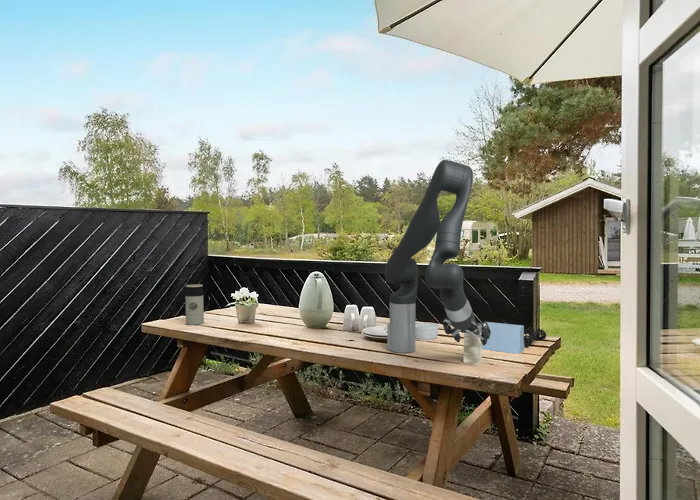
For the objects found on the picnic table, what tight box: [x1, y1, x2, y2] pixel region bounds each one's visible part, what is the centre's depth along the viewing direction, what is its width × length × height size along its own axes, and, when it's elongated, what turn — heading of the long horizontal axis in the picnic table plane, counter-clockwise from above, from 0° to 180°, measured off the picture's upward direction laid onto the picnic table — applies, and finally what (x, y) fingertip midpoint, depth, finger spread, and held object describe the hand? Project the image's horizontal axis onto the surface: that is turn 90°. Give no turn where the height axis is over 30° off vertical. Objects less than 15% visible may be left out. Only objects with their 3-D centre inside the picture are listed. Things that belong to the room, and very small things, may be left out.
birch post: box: [463, 330, 483, 366], centre depth 163 cm, size 4×4×11 cm
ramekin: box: [415, 321, 440, 341], centre depth 202 cm, size 11×11×5 cm
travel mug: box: [184, 283, 205, 326], centre depth 233 cm, size 8×8×18 cm
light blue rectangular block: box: [482, 321, 525, 355], centre depth 181 cm, size 14×7×9 cm, turn 57°
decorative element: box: [524, 326, 547, 349], centre depth 191 cm, size 22×5×6 cm, turn 139°
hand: (471, 341), depth 162 cm, fingers open, 8 cm apart
